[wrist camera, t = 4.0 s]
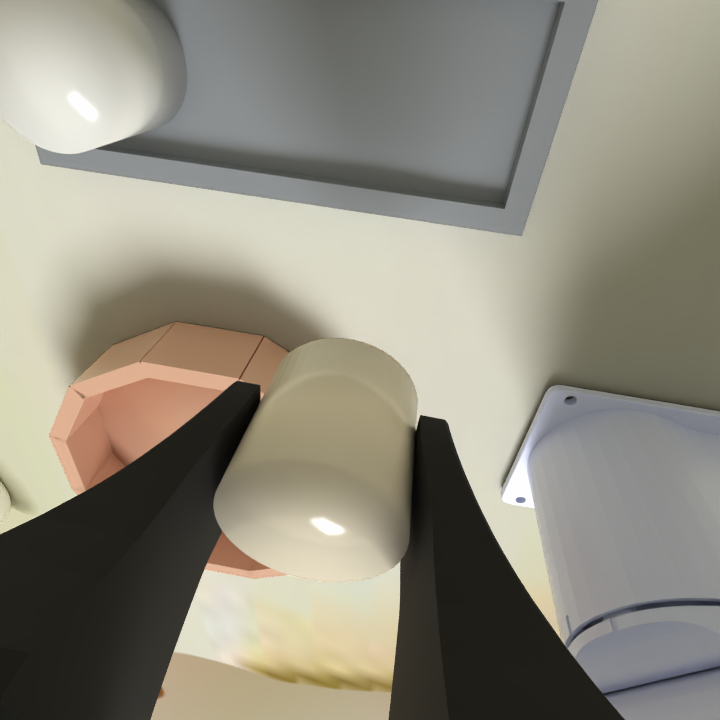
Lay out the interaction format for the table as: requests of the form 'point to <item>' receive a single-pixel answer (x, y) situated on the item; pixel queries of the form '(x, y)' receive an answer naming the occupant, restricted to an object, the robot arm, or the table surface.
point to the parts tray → (364, 105)
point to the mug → (4, 503)
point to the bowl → (157, 406)
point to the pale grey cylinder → (88, 71)
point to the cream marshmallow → (325, 466)
